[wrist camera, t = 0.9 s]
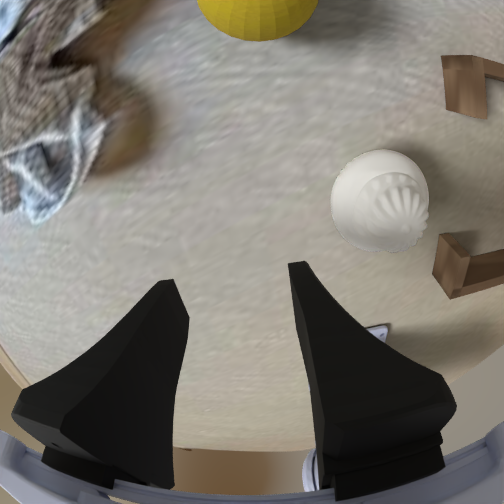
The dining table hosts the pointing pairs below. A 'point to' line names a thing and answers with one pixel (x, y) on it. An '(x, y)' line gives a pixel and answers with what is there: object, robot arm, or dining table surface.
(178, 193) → the dining table surface
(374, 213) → the muffin
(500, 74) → the brown wooden u-shaped frame
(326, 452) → the robot arm
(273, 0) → the lemon
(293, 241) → the dining table surface
